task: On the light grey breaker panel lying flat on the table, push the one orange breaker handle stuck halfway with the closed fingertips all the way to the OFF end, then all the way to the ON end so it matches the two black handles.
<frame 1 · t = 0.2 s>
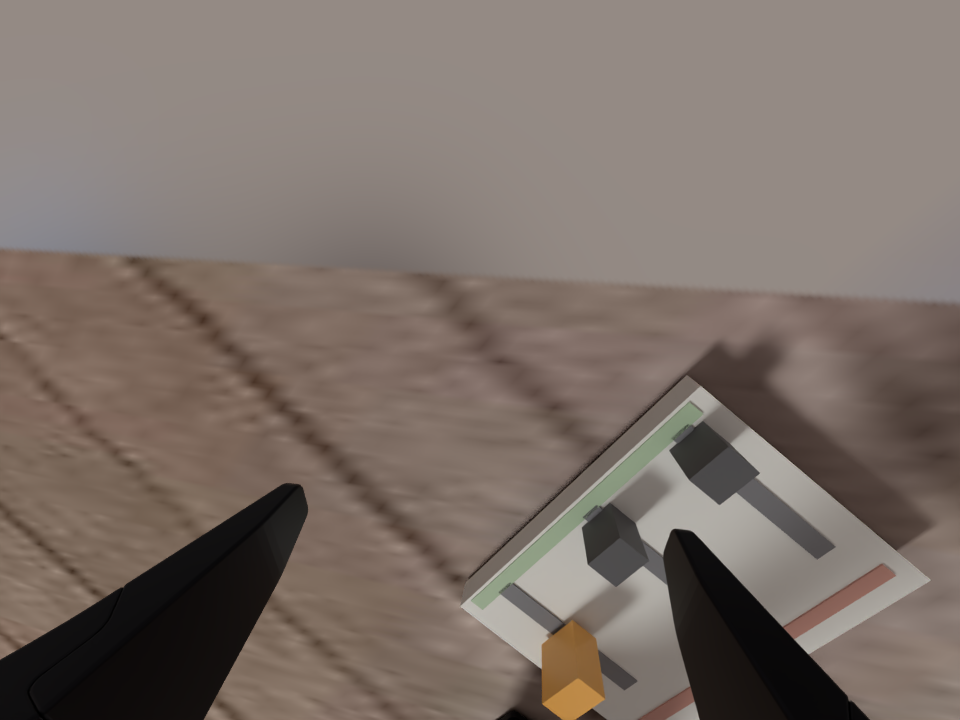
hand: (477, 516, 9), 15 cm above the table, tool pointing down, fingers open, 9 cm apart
tripped breaker: (570, 669, 24), point 4 cm above the table, slide at 0.0 cm
breaker panel: (660, 569, 26), on the table
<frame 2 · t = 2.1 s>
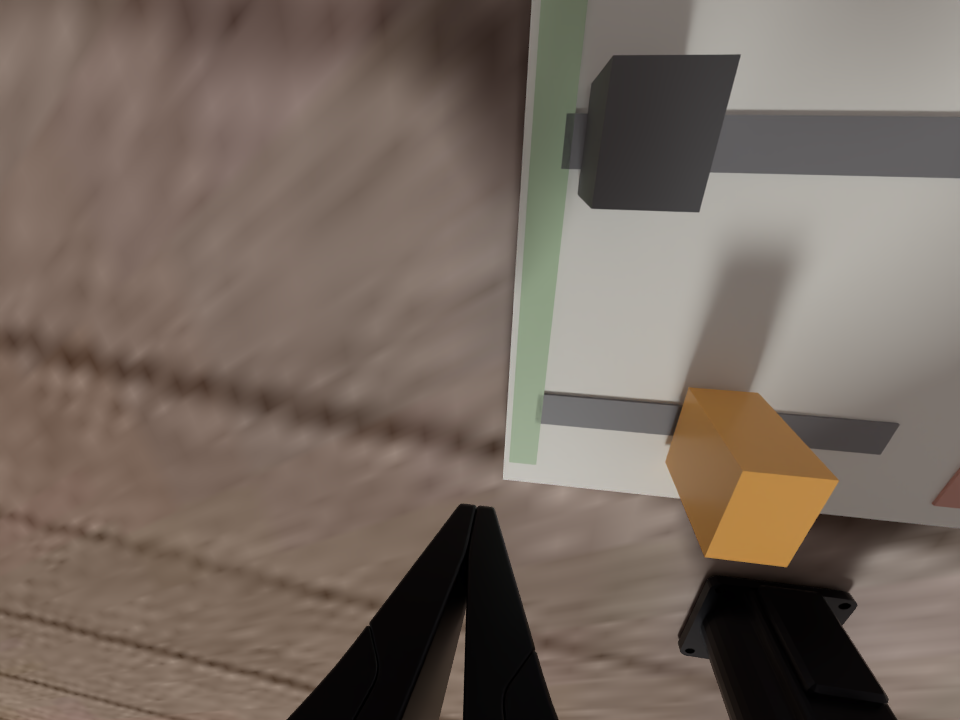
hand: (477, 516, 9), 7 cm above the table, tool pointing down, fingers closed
tripped breaker: (733, 469, 11), point 4 cm above the table, slide at 0.0 cm
breaker panel: (821, 188, 11), on the table
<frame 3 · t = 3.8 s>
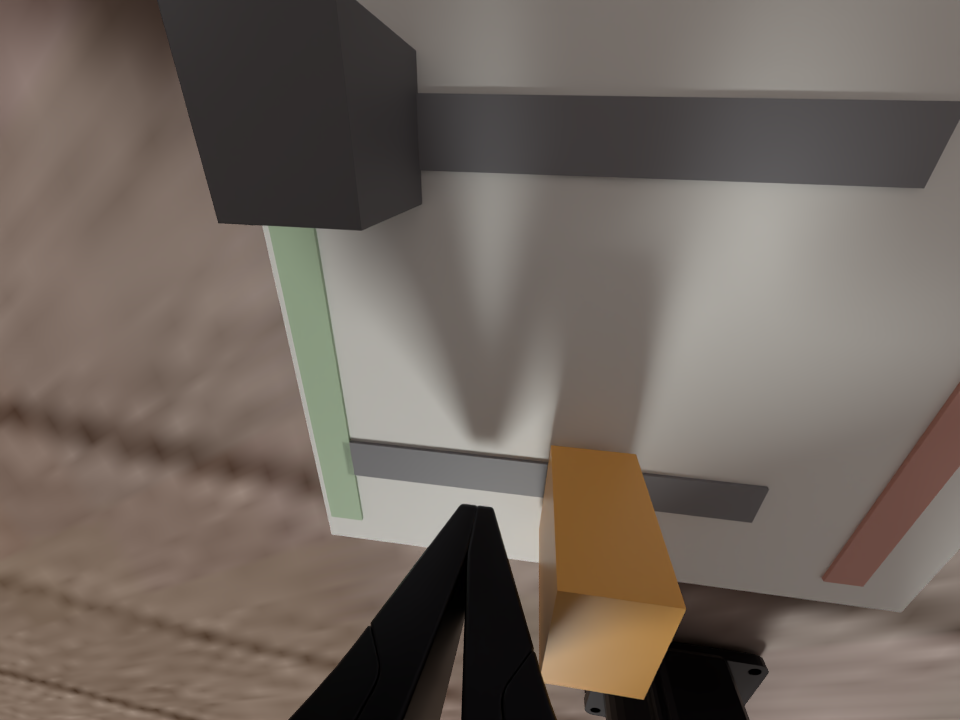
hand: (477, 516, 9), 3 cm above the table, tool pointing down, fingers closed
tripped breaker: (592, 557, 9), point 4 cm above the table, slide at -1.1 cm, touching gripper
breaker panel: (661, 194, 9), on the table
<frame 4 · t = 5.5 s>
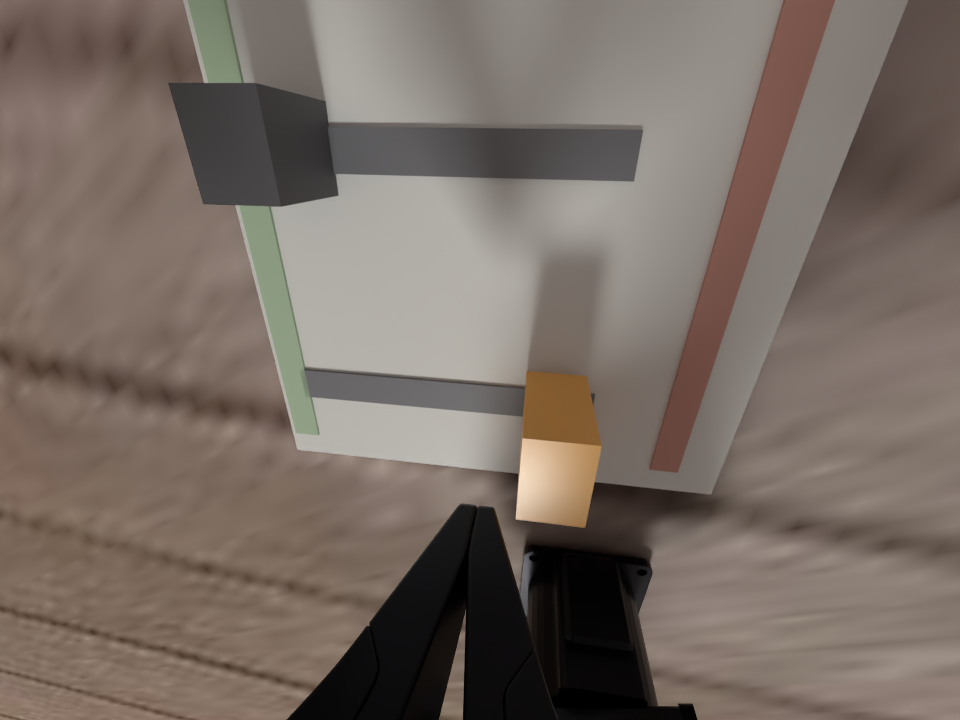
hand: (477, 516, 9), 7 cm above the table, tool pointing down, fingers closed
tripped breaker: (553, 443, 12), point 4 cm above the table, slide at -4.1 cm
breaker panel: (508, 188, 13), on the table
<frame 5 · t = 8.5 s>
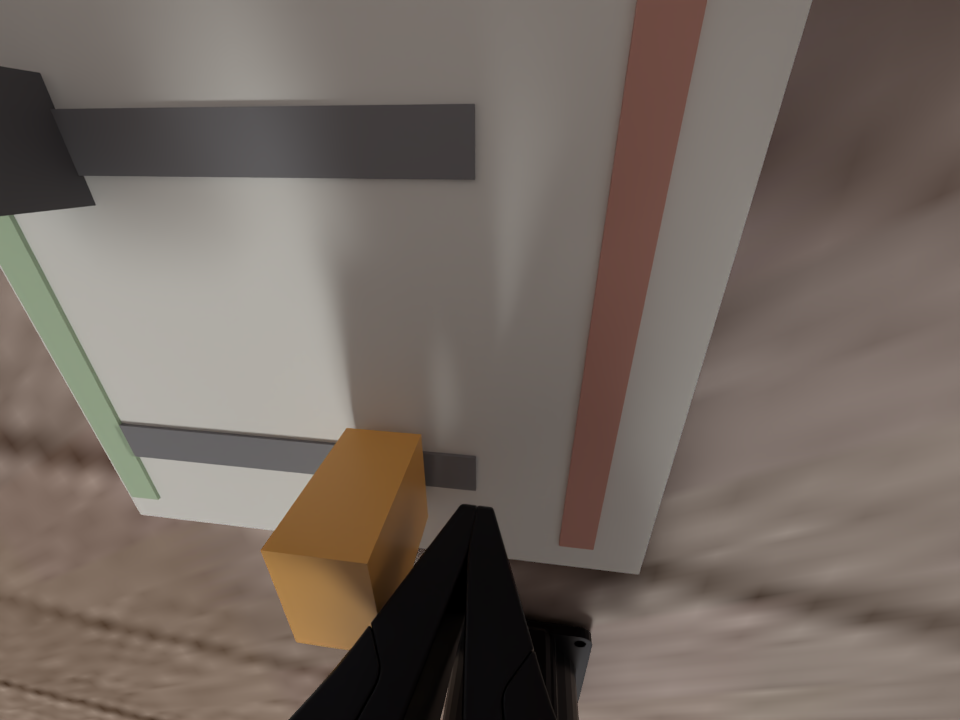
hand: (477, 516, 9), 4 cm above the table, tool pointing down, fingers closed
tripped breaker: (364, 529, 9), point 4 cm above the table, slide at -3.1 cm, touching gripper
breaker panel: (347, 191, 10), on the table
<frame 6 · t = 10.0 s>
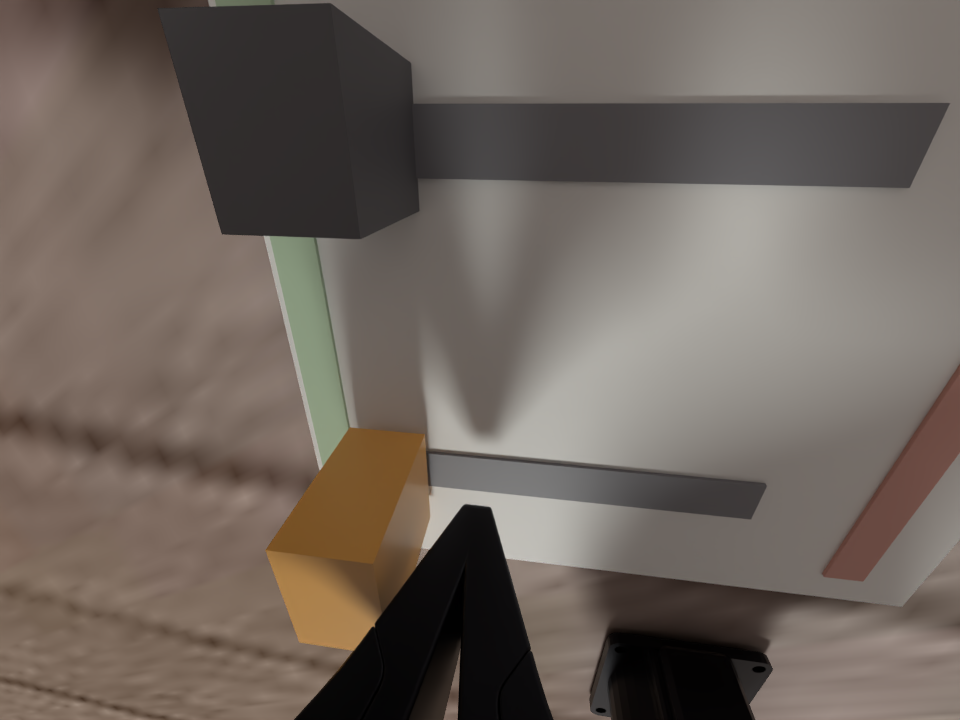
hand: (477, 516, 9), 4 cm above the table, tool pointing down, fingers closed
tripped breaker: (367, 529, 9), point 4 cm above the table, slide at 4.1 cm, touching gripper
breaker panel: (654, 197, 9), on the table
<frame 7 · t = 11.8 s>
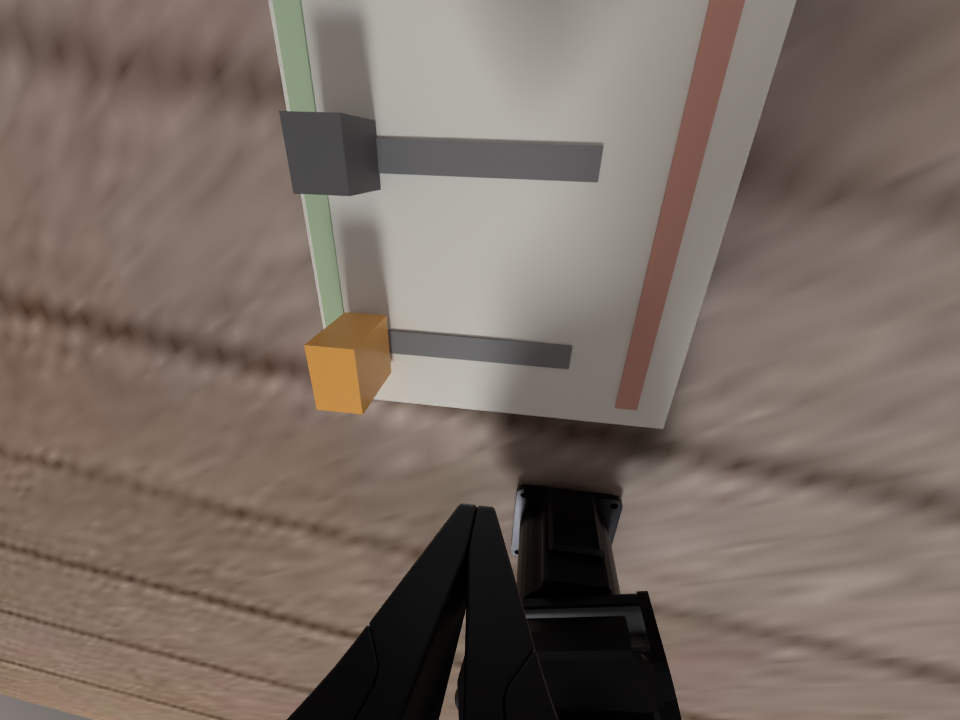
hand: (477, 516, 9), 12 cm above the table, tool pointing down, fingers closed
tripped breaker: (353, 360, 17), point 4 cm above the table, slide at 4.1 cm
breaker panel: (507, 186, 17), on the table
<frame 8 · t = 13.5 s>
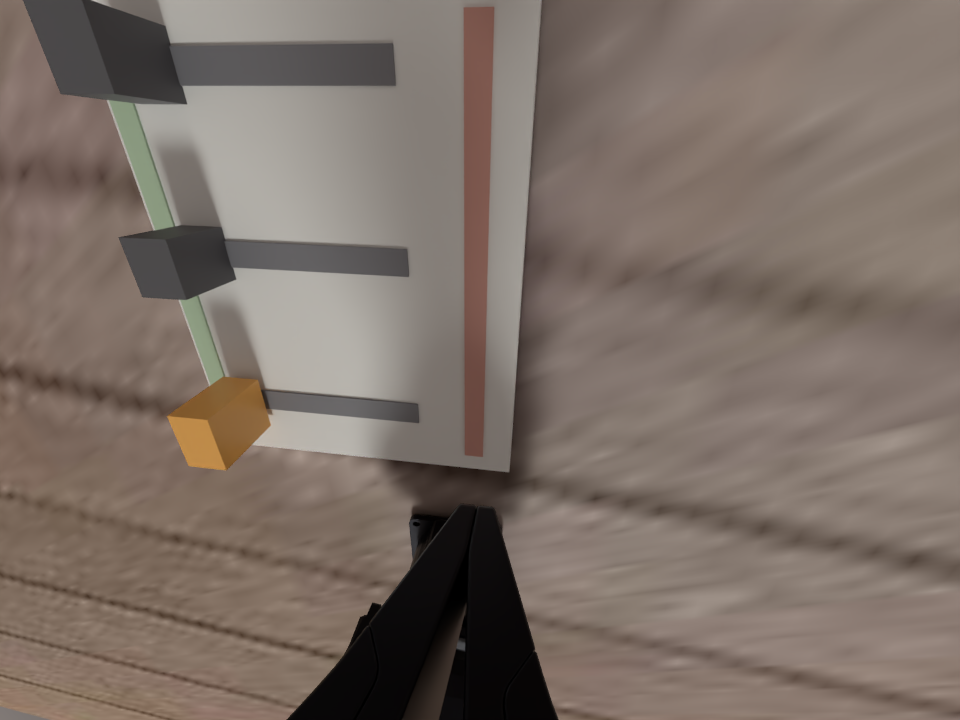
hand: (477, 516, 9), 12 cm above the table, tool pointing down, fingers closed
tripped breaker: (224, 421, 20), point 4 cm above the table, slide at 4.1 cm
breaker panel: (353, 269, 20), on the table
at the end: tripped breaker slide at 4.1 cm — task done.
